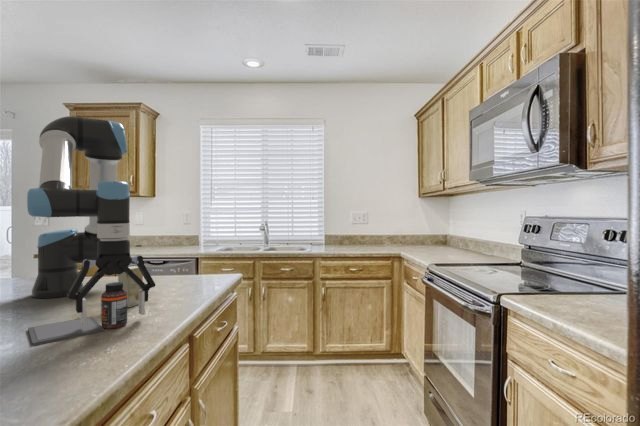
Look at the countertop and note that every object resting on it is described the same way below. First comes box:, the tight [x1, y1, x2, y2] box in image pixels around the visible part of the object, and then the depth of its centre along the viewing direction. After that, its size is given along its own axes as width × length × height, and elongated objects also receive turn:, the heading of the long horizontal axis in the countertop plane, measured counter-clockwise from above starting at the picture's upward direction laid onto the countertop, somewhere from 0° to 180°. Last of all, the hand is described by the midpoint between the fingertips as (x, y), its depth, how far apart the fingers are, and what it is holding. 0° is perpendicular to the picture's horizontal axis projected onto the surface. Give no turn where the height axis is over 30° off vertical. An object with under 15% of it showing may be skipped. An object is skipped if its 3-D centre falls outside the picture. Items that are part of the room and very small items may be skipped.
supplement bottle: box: [100, 281, 128, 330], centre depth 93 cm, size 6×6×11 cm
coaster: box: [27, 316, 105, 346], centre depth 89 cm, size 14×14×1 cm
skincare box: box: [117, 265, 144, 308], centre depth 113 cm, size 6×4×12 cm
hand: (114, 319), depth 93 cm, fingers open, 13 cm apart
